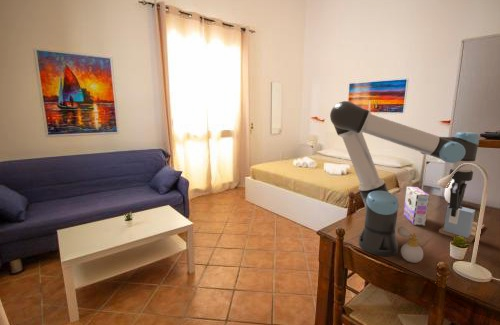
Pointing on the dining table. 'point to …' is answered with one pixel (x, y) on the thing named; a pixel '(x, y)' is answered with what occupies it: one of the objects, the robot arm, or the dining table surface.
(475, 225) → the striped wooden board
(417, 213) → the candy box
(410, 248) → the perfume bottle
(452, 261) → the dining table surface
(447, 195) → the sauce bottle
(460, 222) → the slate block
